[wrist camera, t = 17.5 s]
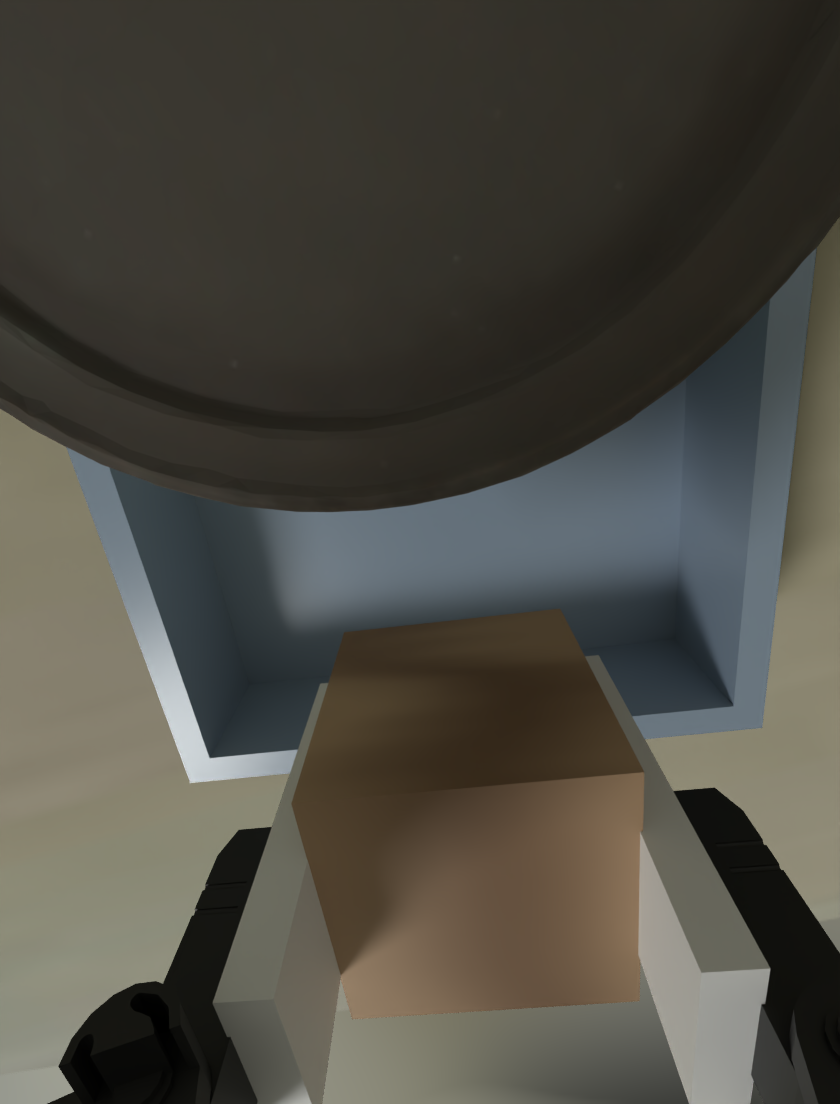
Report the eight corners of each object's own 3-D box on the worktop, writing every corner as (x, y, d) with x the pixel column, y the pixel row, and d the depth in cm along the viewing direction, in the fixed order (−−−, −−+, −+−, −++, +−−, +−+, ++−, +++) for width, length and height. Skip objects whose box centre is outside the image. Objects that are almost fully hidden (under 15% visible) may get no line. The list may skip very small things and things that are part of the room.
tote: (237, 697, 24) (190, 782, 19) (-2, -81, 15) (-205, -286, 10) (692, 649, 22) (761, 727, 18) (740, -235, 13) (908, -552, 9)
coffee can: (582, 21, 15) (1910, -2849, 2) (542, 403, 18) (831, 532, 5) (214, 13, 15) (-1577, -2819, 2) (247, 395, 18) (-208, 502, 5)
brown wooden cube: (377, 797, 14) (352, 1019, 9) (344, 632, 12) (291, 803, 8) (567, 779, 14) (639, 1001, 9) (560, 608, 12) (644, 771, 7)
